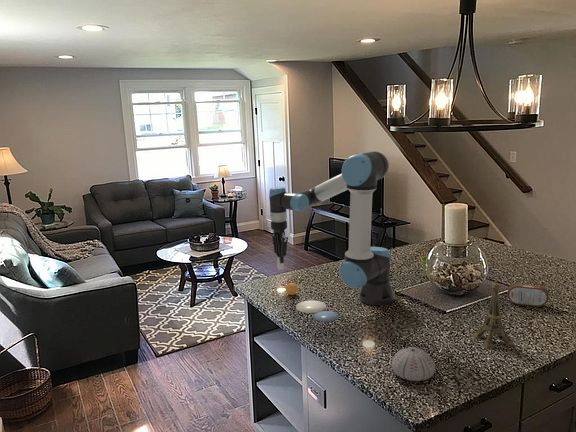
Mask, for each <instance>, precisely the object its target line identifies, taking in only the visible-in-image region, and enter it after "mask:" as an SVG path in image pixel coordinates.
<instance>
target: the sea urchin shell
mask: <svg viewBox="0 0 576 432" xmlns="http://www.w3.org/2000/svg"><path fill="white" fill-rule="evenodd" d="M390 363H391V368H392V372H393V373H394V375H396V376H397V377H399V378H401V379H403V380H406V381H410V382H411V381H412V382H414V381H415V382H420V381H426V380H428V379H430V378H432V377H433V376H434V374H435V372H436V364H435V363H436V362H435V361H434V359H433V358H432V357H431V355H430V354H428V353H427V352H426V351H425V350H423V349H420V348H417V347H415V346H409V347H407V348H406V347H405V348H402V349H400V350H399V351H397V352H396V353H395V354H394V355H393V356H392V358H391V362H390Z"/></svg>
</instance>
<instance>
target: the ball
mask: <svg viewBox="0 0 576 432" xmlns="http://www.w3.org/2000/svg"><path fill="white" fill-rule="evenodd" d="M298 288H299V287H298V285H297V284H296V283H294V282H289V283H288V284H287V285H286V287H285V291H286V293H287V294H288V295H289V296H294V295H295V294H297V293H298Z"/></svg>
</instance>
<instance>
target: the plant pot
mask: <svg viewBox="0 0 576 432" xmlns="http://www.w3.org/2000/svg"><path fill="white" fill-rule="evenodd" d="M427 256H428V255H426V256H422V257H420V261H421V264H422V270H423V276H424V277H426V274H425V264H426V258H427Z"/></svg>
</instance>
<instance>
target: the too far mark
mask: <svg viewBox="0 0 576 432" xmlns="http://www.w3.org/2000/svg"><path fill="white" fill-rule="evenodd" d="M313 314H314V315H313V318H314V319H315V320H316V321H318V322H323V323H324V322H327V323H328V322H333V321H336V320H337V319H339V314H338V313H337V312H335V311H332V310H331V311H330V310H323V311H320V312H316V313H313Z"/></svg>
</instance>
